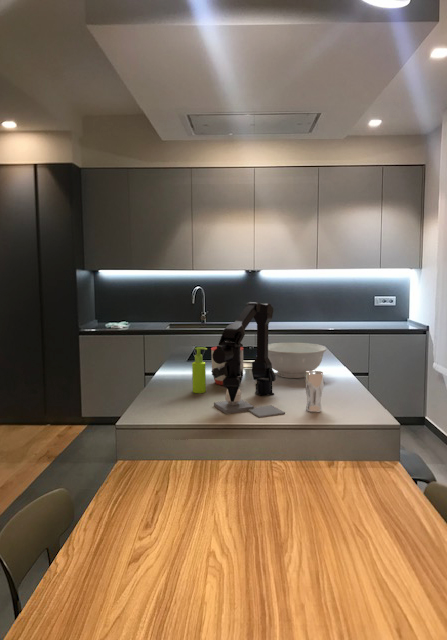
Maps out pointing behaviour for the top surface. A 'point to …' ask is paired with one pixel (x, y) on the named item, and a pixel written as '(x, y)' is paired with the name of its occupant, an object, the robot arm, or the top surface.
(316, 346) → the bowl
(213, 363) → the citrus juicer
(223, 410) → the plinth
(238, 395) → the cream domed square block
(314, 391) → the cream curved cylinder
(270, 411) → the mat
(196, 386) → the soap dispenser
